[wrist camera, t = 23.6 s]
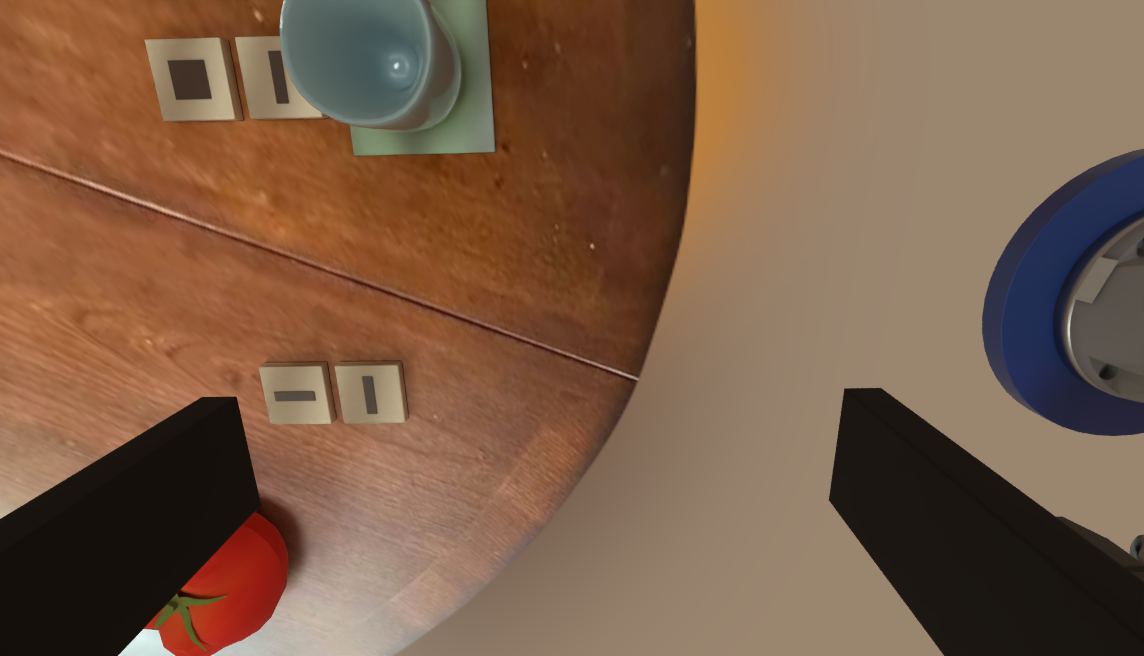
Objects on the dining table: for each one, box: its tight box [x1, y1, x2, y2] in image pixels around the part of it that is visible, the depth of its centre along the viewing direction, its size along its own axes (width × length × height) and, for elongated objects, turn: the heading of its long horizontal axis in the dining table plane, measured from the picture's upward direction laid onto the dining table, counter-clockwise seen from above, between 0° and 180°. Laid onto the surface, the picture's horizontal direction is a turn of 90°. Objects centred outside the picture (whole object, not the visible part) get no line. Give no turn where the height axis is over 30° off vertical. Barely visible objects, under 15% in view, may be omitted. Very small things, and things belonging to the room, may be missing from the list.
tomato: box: [144, 512, 289, 656], centre depth 43 cm, size 13×12×8 cm
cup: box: [279, 0, 462, 133], centre depth 31 cm, size 8×8×10 cm
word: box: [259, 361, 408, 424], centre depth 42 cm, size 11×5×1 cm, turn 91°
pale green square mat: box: [145, 0, 496, 156], centre depth 35 cm, size 22×10×1 cm, turn 91°
